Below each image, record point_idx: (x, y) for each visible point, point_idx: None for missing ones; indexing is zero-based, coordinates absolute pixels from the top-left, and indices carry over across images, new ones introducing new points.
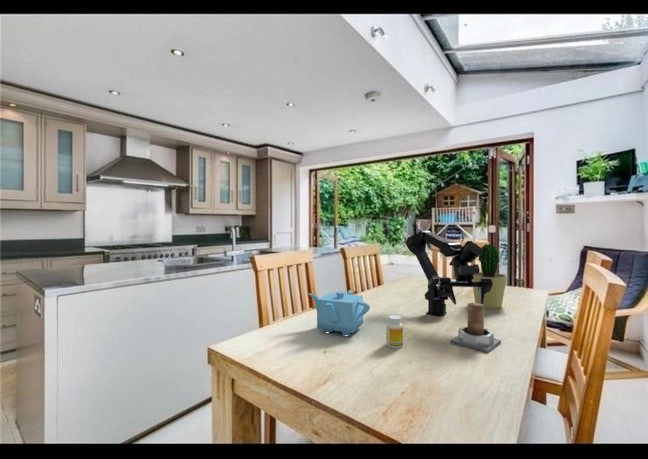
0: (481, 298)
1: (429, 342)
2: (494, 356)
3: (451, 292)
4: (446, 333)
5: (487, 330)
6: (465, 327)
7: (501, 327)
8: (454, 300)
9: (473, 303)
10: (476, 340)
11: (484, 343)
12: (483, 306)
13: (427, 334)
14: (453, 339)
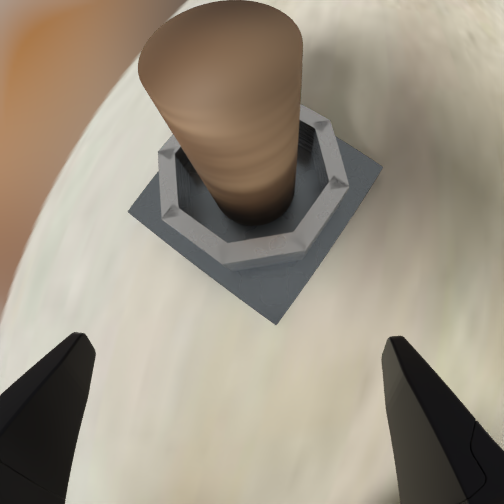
0: (47, 374)
1: (460, 173)
2: None
3: (481, 450)
4: (381, 320)
5: (172, 192)
6: (296, 229)
7: None
8: (415, 355)
9: (226, 76)
10: None
11: None
12: (161, 30)
13: (470, 282)
14: (367, 177)
